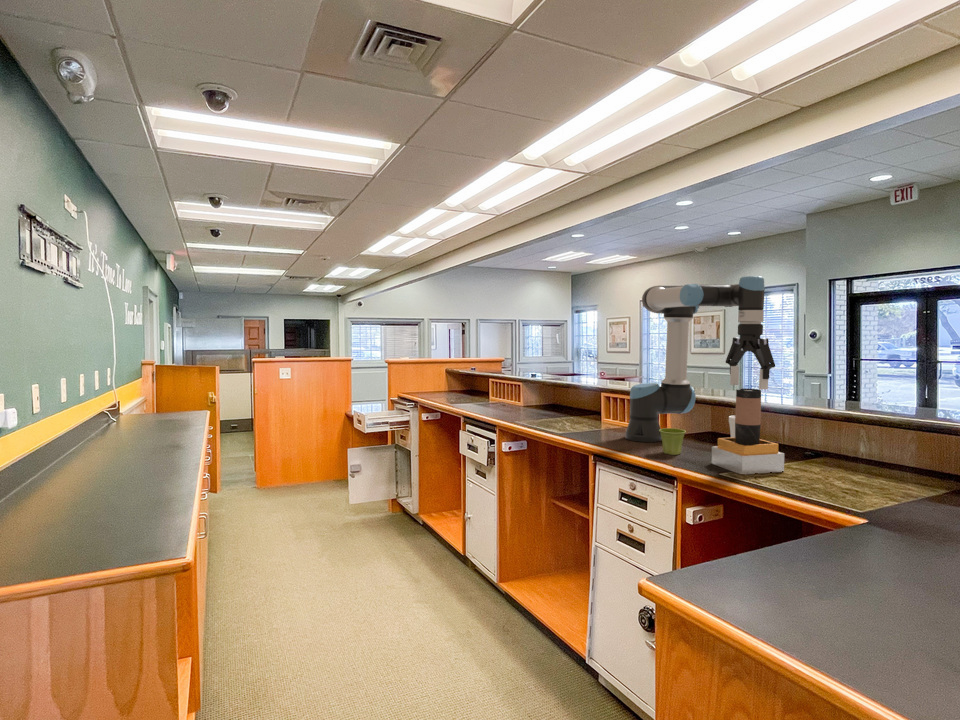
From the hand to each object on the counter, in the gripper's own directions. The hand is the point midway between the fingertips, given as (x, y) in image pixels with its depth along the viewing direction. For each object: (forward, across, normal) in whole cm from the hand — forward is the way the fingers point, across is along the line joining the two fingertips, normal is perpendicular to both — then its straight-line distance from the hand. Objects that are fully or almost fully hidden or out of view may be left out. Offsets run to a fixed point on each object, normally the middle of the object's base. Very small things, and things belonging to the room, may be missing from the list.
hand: (748, 387), depth 183 cm
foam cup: (+28, -22, +16) cm, 38 cm away
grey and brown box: (+27, 0, +2) cm, 27 cm away
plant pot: (+28, -24, -12) cm, 39 cm away
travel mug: (+21, 0, 0) cm, 21 cm away
